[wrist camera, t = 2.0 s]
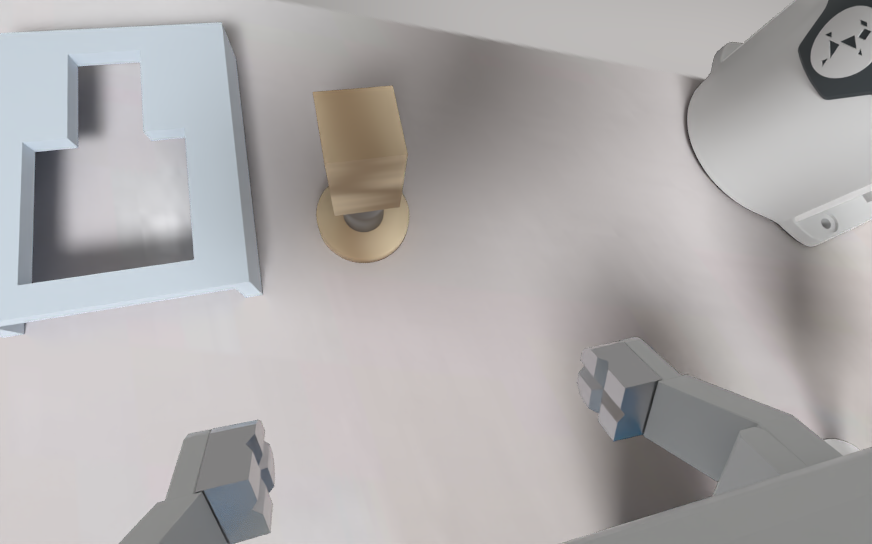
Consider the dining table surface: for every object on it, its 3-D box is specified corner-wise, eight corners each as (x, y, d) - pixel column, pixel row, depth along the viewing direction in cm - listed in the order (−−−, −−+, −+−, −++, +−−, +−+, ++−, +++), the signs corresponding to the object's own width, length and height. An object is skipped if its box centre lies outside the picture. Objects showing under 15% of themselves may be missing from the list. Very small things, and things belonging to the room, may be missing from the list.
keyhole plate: (235, 58, 32) (221, 22, 29) (262, 294, 27) (249, 281, 24) (14, 72, 29) (-27, 34, 26) (3, 337, 25) (-48, 328, 22)
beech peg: (398, 176, 31) (413, 62, 21) (415, 255, 30) (439, 175, 19) (312, 186, 30) (281, 71, 19) (325, 269, 28) (298, 192, 18)
